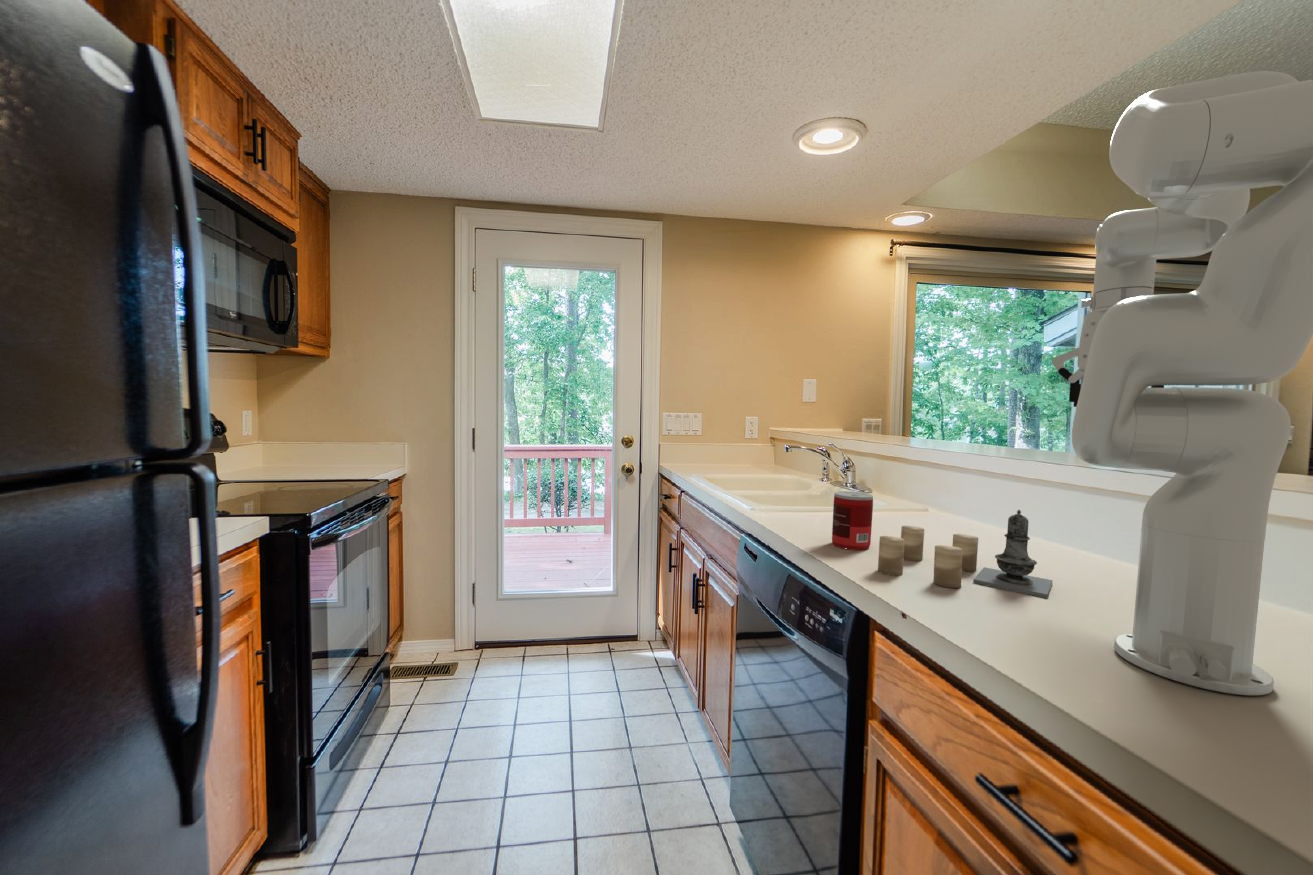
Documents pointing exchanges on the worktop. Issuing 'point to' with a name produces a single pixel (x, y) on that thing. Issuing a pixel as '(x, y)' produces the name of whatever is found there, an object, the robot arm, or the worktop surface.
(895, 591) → the worktop surface
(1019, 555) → the salt shaker
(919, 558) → the dowel back left
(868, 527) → the canned food
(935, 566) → the dowel front right
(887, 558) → the dowel front left
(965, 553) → the dowel back right
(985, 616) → the worktop surface
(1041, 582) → the coaster
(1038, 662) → the worktop surface
